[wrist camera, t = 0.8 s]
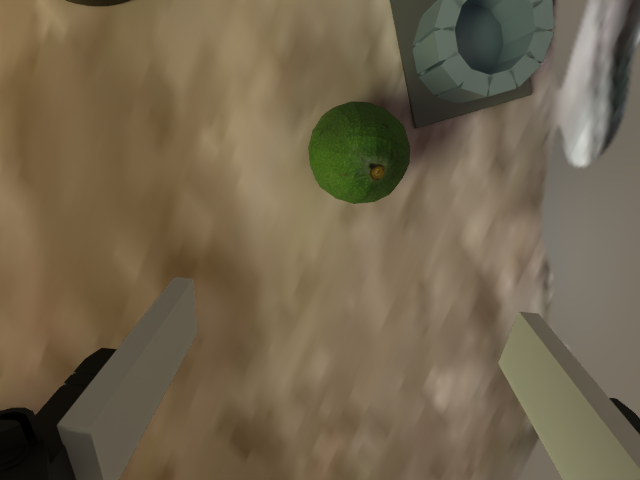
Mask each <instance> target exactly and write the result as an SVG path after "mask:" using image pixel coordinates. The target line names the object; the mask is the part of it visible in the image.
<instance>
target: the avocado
mask: <svg viewBox="0 0 640 480" xmlns="http://www.w3.org/2000/svg"><path fill="white" fill-rule="evenodd" d="M308 148H309V159H310V166H311V169H312V171H313V174H314V177H315V179H316V181H317V182H318V184H319V186H320V187H321V188H323V189H324V190H325V191H327V192H328V193H329V194H331V195H332V196H333V197H335V198H337V199H340V200H343V201H346V202H350V203H353V204H356V203H368V202H375V201H377V200H379V199H381V198H383V197H385V196H387V195H389V194H390V193H391V192H392V191H393V190H394V189H395V187H396V186H397V185H398V183H399V182H400V181H401V179H402V178H403V176H404V174H405V172H406V170H407V167H408V165H409V158H410V146H409V142H408V139H407V135H406V132H405V129H404V127H403V125H402V124H401V123H400V122H399V121H398V120H397V119H396V118H395V117H394V116H392V115H391V114H390V113H389V112H388V111H386V110H385V109H383V108H380V107H378V106H376V105H374V104H372V103H366V102H348V103H345V104H343V105H340V106H337V107H334V108H332V109H331V110H329V111H328V112H327V113H325V114H324V115H323V116H322V117H321V119H320V120H319V122H318V124H317V125H316V127H315V128H314V130H313V132H312V136H311V140H310V144H309V147H308Z"/></svg>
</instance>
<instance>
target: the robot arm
mask: <svg viewBox="0 0 640 480" xmlns="http://www.w3.org/2000/svg"><path fill="white" fill-rule="evenodd" d="M66 1H69V2H72V3H76V4H81V5H87V6H109V5H116V4H120V3H123V2H126V1H129V0H66ZM196 335H197V323H196V309H195V295H194V281H193V279H189V278H179V277H174V278H173V279H172V281H171V282H170V283H169V284H168V286H167V287H166V288H165V289H164V291H163V292H162V293H161V294H160V296H159V297H158V298H157V300H156V301H155V302H154V303H153V305H152V306H151V307H150V308H149V310H148V311H147V312H146V313H145V315H144V316H143V317H142V318H141V320H140V321H139V322H138V323H137V325H136V326H135V327H134V329H133V330H132V331H131V332H130V334H129V335H128V336H127V337H126V339H125V340H124V341H123V342H122V344H121V345H120V346H119V347H118V349H108V348H101V349H99V350H98V351H96V352H95V353H93V354H92V355H90V356H89V357H87V358H86V359H85V360H84V361H83V362H82V363H81V364H80V365H79V366H78V368H77V369H76V370H75V371H74V372H73V375H71V376H70V377H69V378H68V379H67V380H66V381H65V382H64V385H63V386H61V387H60V388H59V389H58V390H57V391H56V393H55V394H54V395H53V396H52V397H51V398H50V399H49V401H48V402H47V403H46V404H45V405H44V406H43V407H42V409H41V410H40V411H39V412H38V413H37V414H36V415H34V412H33V411H31V410H29V409H27V408H10V409H6V410H2V411H0V480H119V479H120V477H121V475H122V473H123V471H124V469H125V467H126V466H127V464H128V462H129V460H130V458H131V456H132V454H133V452H134V451H135V449H136V447H137V445H138V443H139V441H140V439H141V438H142V436H143V434H144V432H145V430H146V428H147V426H148V424H149V423H150V421H151V419H152V417H153V415H154V413H155V411H156V409H157V408H158V406H159V404H160V402H161V400H162V398H163V396H164V394H165V393H166V391H167V389H168V387H169V385H170V383H171V381H172V379H173V378H174V376H175V374H176V372H177V370H178V368H179V366H180V365H181V363H182V361H183V359H184V357H185V355H186V353H187V351H188V350H189V348H190V346H191V344H192V342H193V340H194V338H195V336H196ZM498 364H499V366H500V367H501V369H502V371H503V373H504V375H505V376H506V378H507V380H508V382H509V384H510V385H511V387H512V389H513V391H514V393H515V394H516V396H517V398H518V400H519V402H520V403H521V405H522V407H523V409H524V411H525V412H526V414H527V416H528V418H529V419H530V421H531V423H532V425H533V427H534V428H535V430H536V432H537V434H538V436H539V437H540V439H541V441H542V443H543V445H544V446H545V448H546V450H547V452H548V454H549V455H550V457H551V459H552V461H553V462H554V464H555V466H556V468H557V470H558V472H559V473H560V475H561V477H562V479H563V480H640V418H639V417H638V416H637V415H636V414H635V413H634V412H633V411H632V410H630V409H629V408H628V407H626V406H625V405H624V404H623V403H621V402H620V401H619V400H618V399H615V398H608V396H607V395H606V394H605V393H604V392H603V390H602V389H601V388H600V387H599V386H598V384H597V383H596V382H595V381H594V380H593V378H592V377H591V376H590V375H589V374H588V372H587V371H586V370H585V369H584V368H583V367H582V366H581V364H580V363H579V362H578V361H577V359H576V358H575V357H574V356H573V355H572V353H571V352H570V351H569V350H568V349H567V347H566V346H565V345H564V344H563V343H562V341H561V340H560V339H559V338H558V337H557V335H556V334H555V333H554V332H553V331H552V329H551V328H550V327H549V326H548V325H547V324H546V322H545V321H544V320H543V319H542V318H541V316H540V315H539V314H536V313H526V312H519V314H518V316H517V319H516V321H515V324H514V326H513V329H512V331H511V333H510V336H509V338H508V341H507V343H506V346H505V348H504V351H503V353H502V356H501V358H500V361H499V363H498Z"/></svg>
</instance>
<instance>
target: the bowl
mask: <svg viewBox="0 0 640 480" xmlns="http://www.w3.org/2000/svg"><path fill="white" fill-rule="evenodd" d="M422 16H423V17H422V18H421V19H420V22H419V26H418V29H417V32H416V36H415V39H414V43H413V45H414V48H413V54H414V59H415V64H416V70H417V74H419V76H420V77H419V78H420V79H421V81H422V82H423V83H424V84H425V85H426V87H427V88H428V89H429V90H430V91H431V92H432V94H433V95H437V97H438V98H441V99H445V100H448V101H451V102H455V103H465V102H469V101H473V100H476V99H480V98H484V97H488V96H492V95H496V94H499V93H502V92H506V91H509V90H513V89H516V87H520V86H521V85H522V84H523V83H524V82H525V81H526V80H527V79H528V78H529V77H530V76H531V75H532V74H533V73H534V72H535V71H536V70H537V69H538V68H539V67H540V66H541V65H540V64H539V63H542V62H543V61H544V58H545V56H546V53H547V50H548V48H549V45H550V42H551V39H552V37H553V34H554V32H551V31H549V30H552V29H554V28H555V26H554V14H553V2H552V0H436V1H435V3H434V4H433V5H432V6H431V7H430V8H429V9H428V10H427V11H426V12H425V13H424V14H423V15H422Z"/></svg>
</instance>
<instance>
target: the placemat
mask: <svg viewBox="0 0 640 480" xmlns="http://www.w3.org/2000/svg"><path fill="white" fill-rule="evenodd" d="M435 1H436V0H390V3H391V8H392V13H393V19H394V24H395V29H396V34H397V39H398V44H399V49H400V54H401V60H402V65H403V70H404V75H405V80H406V85H407V90H408V95H409V101H410V106H411V111H412V116H413V121H414V126H415V128H418V127H421V126H425V125H428V124H432V123H435V122H439V121H442V120H446V119H449V118H453V117H456V116H460V115H463V114H466V113H470V112H473V111H477V110H480V109H484V108H487V107H491V106H494V105H498V104H501V103H505V102H508V101H512V100H515V99H518V98H522V97H525V96H529V95H531V86H530V77H529V78H528V79H527V80H526V81H525V82H524V83H523V84H522V85H521V86H520V87H516V89H513V90H509V91H506V92H502V93H499V94H496V95H492V96H488V97H484V98H480V99H476V100H473V101H469V102H465V103H455V102H451V101H448V100H445V99H441V98H438V97H437V95H433V94H432V92H431V91H430V90H429V89H428V88H427V87H426V85H425V84H424V83H423V82H422V81H421V79H420V78H419V77H420V76H419V74H417V70H416V64H415V59H414V54H413V48H414V45H413V43H414V39H415V36H416V32H417V29H418V26H419V22H420V19H421V18H422V17H423V16H422V15H423V14H424V13H425V12H426V11H427V10H428V9H429V8H430V7H431V6H432V5H433V4H434V3H435Z"/></svg>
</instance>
